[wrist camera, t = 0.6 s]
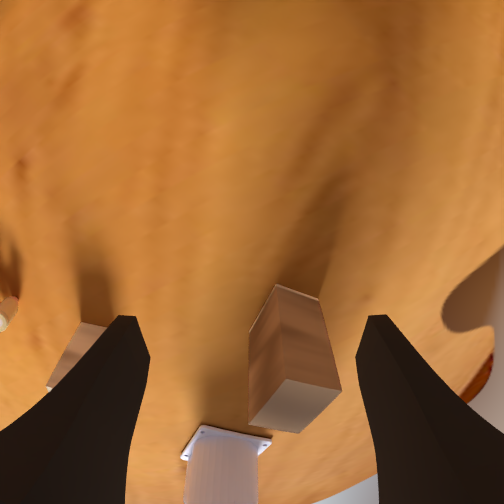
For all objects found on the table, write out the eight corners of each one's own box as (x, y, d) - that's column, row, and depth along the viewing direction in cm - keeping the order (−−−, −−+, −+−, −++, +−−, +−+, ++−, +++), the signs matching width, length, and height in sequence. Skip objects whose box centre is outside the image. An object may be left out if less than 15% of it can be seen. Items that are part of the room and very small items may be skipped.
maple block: (122, 362, 25) (98, 428, 19) (89, 355, 25) (61, 417, 19) (116, 329, 23) (86, 398, 17) (81, 321, 23) (45, 385, 17)
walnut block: (288, 343, 24) (298, 433, 17) (248, 331, 23) (247, 424, 16) (318, 298, 22) (342, 391, 15) (276, 283, 21) (285, 378, 14)
